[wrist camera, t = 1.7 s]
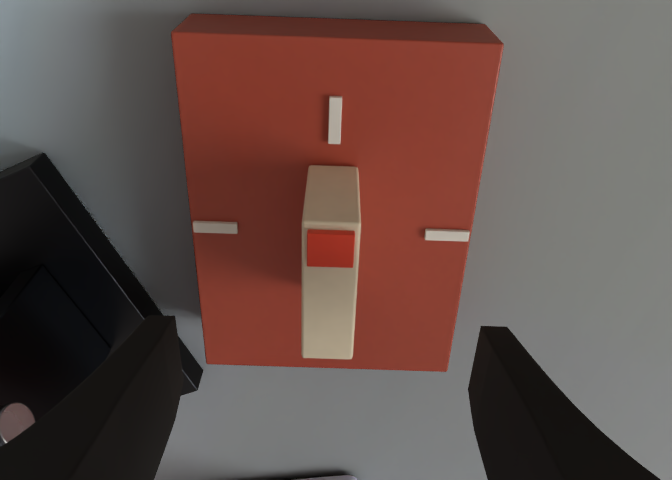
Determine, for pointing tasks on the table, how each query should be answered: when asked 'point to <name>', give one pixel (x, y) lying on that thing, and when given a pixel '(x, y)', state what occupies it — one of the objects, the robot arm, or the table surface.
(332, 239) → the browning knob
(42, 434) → the robot arm
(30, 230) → the black lever mount
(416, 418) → the table surface
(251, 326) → the dial panel
